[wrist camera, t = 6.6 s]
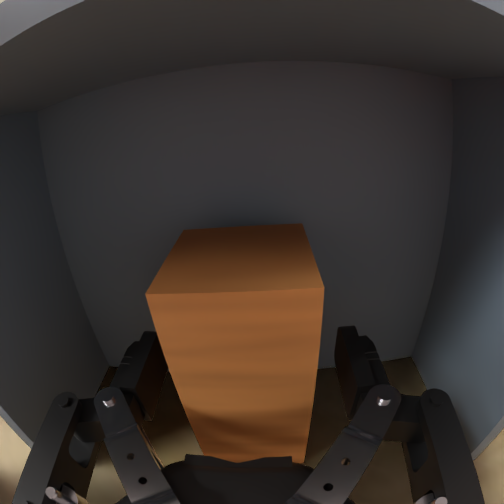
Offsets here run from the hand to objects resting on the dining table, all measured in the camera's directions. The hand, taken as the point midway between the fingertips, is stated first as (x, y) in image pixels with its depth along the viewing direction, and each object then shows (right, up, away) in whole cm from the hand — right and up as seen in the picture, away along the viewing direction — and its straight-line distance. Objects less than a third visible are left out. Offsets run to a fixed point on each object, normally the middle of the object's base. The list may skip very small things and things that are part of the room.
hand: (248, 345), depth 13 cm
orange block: (0, -6, +2) cm, 6 cm away
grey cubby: (0, -6, +2) cm, 6 cm away
